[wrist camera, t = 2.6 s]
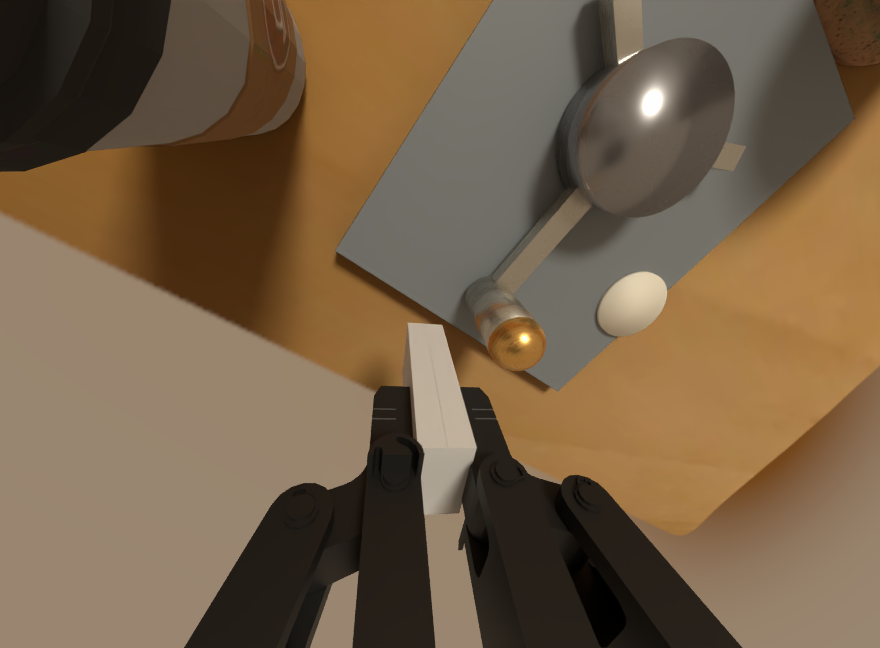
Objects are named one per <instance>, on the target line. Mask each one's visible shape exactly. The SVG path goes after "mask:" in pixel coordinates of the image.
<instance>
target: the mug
mask: <svg viewBox="0 0 880 648" xmlns="http://www.w3.org/2000/svg"><path fill="white" fill-rule="evenodd" d="M813 1H814V4H815V7H816V10H817V13H818V15H819V18H820V21H821V24H822V27H823V30H824V32H825V35H826V38H827V41H828V44H829V47H830V49H831V52H832V55H833V58H834V61H835V63H837V64H840V65H844V66H856V67H857V66H866V65H872V64H877V63H880V0H813Z"/></svg>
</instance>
